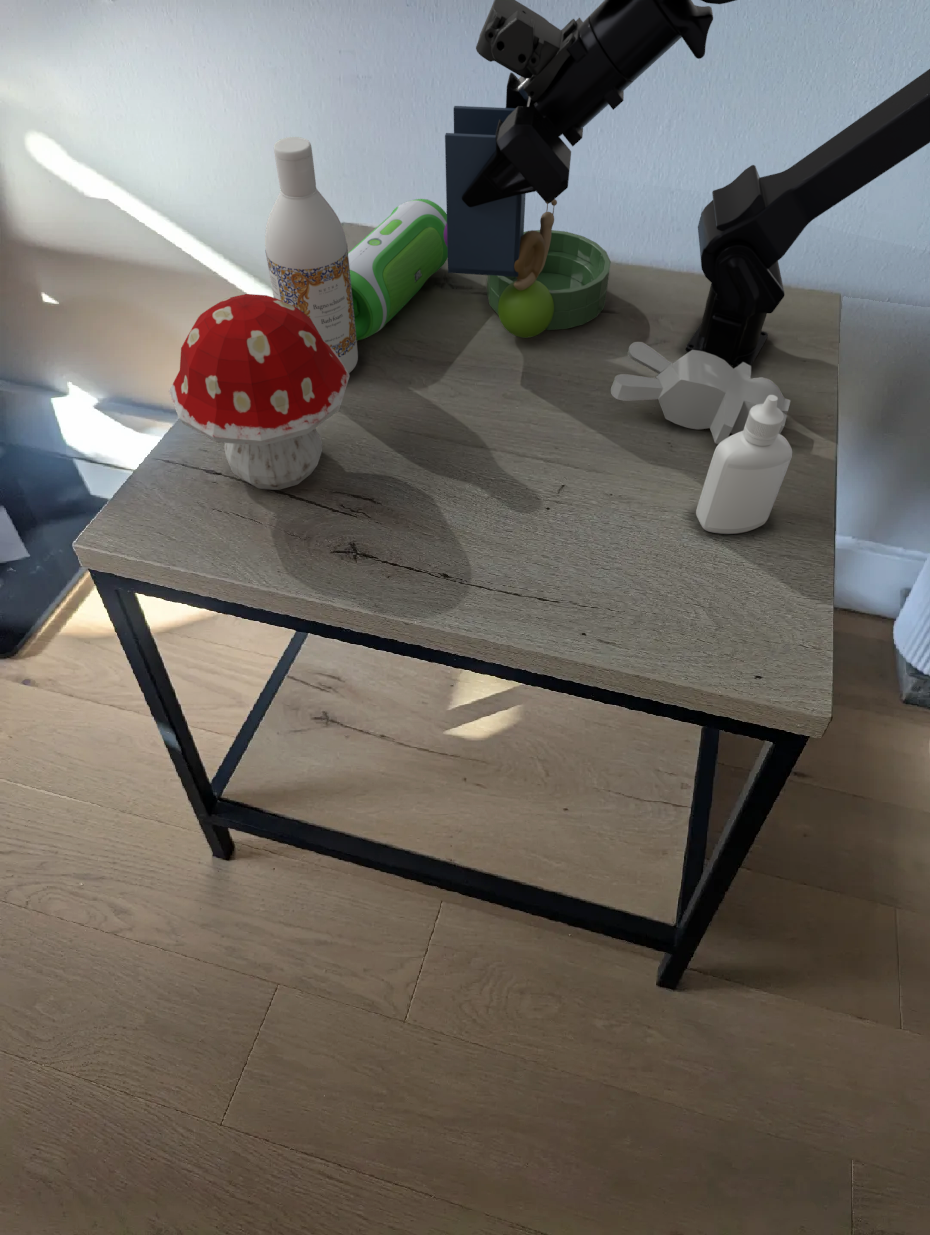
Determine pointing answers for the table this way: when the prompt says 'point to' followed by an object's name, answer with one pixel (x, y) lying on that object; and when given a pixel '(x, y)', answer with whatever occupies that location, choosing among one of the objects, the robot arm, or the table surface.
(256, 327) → the decorative mushroom
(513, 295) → the snail figurine
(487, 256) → the dark blue rectangular box
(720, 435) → the bunny figurine
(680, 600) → the table surface
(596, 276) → the bowl
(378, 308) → the speaker
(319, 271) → the bath foam
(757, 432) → the eye dropper bottle
